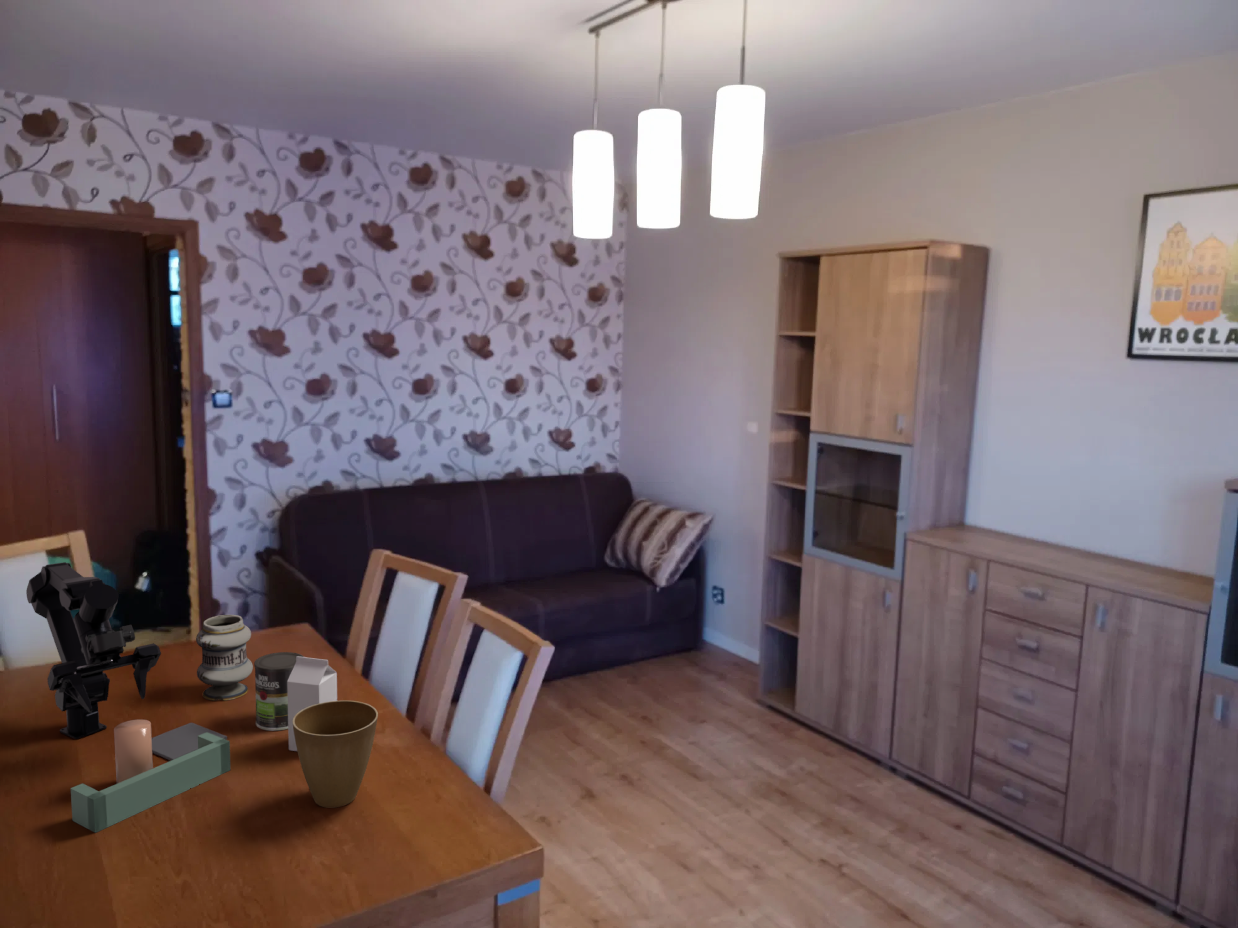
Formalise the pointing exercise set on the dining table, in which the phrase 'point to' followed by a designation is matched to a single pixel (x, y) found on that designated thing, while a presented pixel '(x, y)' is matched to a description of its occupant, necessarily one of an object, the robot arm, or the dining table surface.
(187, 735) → the mat
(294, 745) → the milk carton
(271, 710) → the coffee can
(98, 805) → the green bracket handle
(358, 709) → the plant pot
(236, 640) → the apothecary jar
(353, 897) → the dining table surface
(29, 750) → the dining table surface
